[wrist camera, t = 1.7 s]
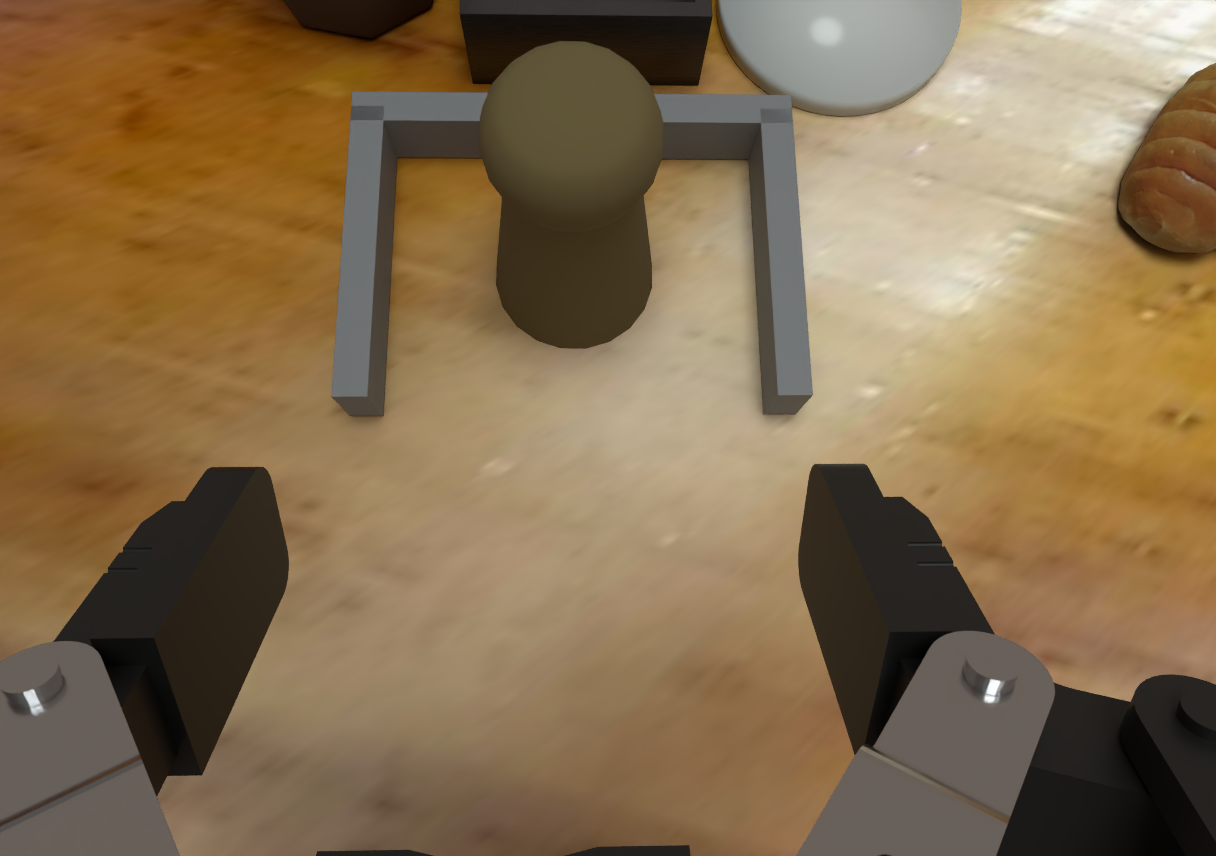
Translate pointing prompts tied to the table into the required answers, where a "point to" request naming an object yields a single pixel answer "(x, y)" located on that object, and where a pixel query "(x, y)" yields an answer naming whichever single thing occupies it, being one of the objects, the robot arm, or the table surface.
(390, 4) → the beer bottle
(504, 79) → the cork
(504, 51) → the open storage bin
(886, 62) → the saucer
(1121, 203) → the pastry
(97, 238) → the table surface
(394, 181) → the grey u-shaped frame
